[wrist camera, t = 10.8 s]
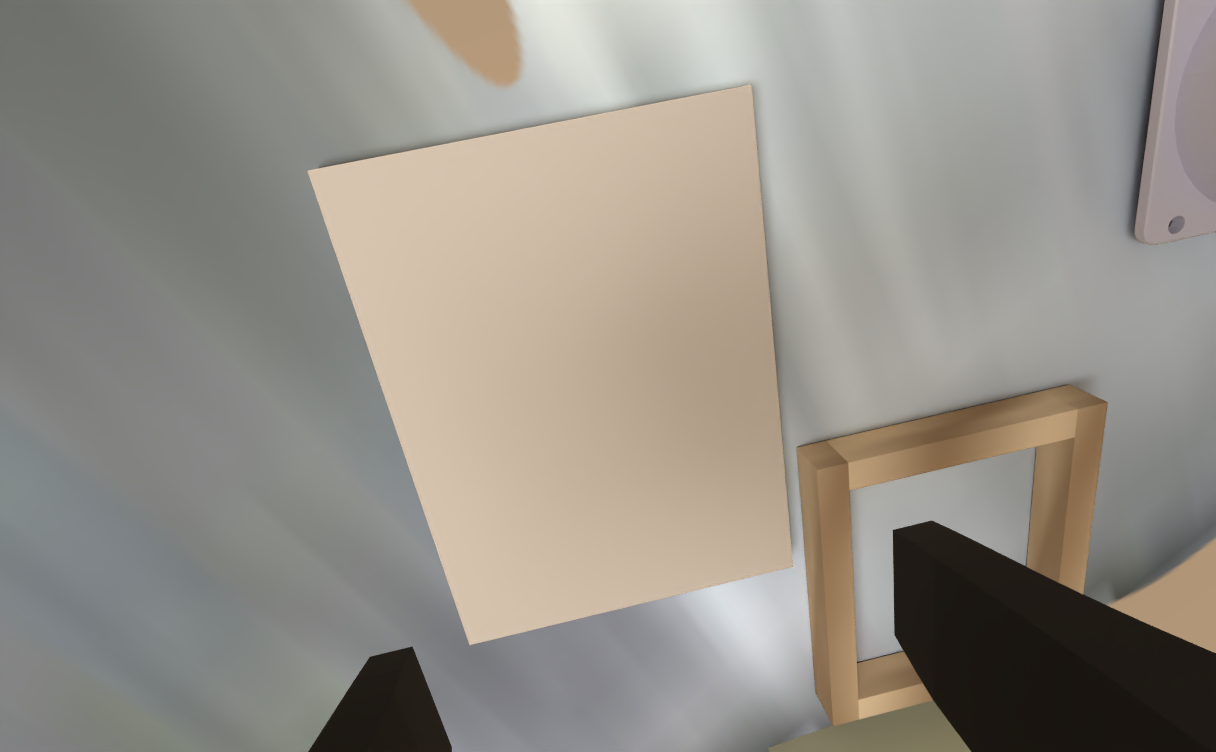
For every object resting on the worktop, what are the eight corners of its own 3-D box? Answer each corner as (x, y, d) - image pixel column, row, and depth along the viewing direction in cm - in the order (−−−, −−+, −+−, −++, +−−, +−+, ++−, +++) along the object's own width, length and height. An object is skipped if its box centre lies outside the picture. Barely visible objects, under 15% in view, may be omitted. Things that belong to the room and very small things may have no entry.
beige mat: (741, 86, 17) (751, 84, 16) (783, 552, 22) (792, 566, 22) (316, 168, 16) (307, 170, 15) (471, 627, 22) (469, 644, 21)
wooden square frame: (1069, 384, 21) (1107, 402, 20) (1043, 634, 26) (1074, 663, 24) (796, 447, 21) (816, 469, 19) (815, 692, 25) (833, 726, 24)
